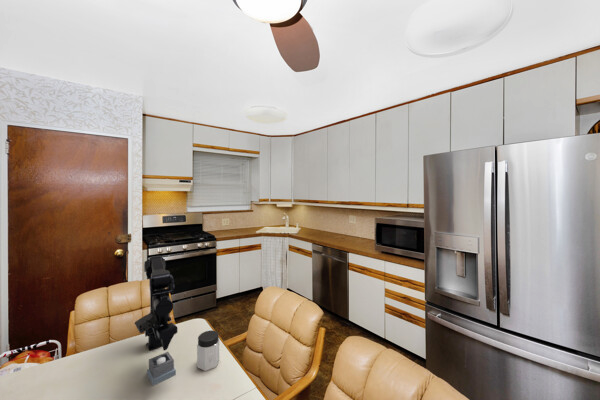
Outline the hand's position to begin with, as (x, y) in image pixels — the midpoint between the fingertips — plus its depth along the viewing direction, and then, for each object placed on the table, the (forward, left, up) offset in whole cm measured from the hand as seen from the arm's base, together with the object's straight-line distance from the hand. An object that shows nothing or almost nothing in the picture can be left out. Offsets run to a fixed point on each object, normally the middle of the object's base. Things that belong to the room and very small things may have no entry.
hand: (161, 344), depth 97 cm
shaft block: (0, 0, -12) cm, 12 cm away
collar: (0, 0, -10) cm, 10 cm away
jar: (+7, +16, -12) cm, 21 cm away
